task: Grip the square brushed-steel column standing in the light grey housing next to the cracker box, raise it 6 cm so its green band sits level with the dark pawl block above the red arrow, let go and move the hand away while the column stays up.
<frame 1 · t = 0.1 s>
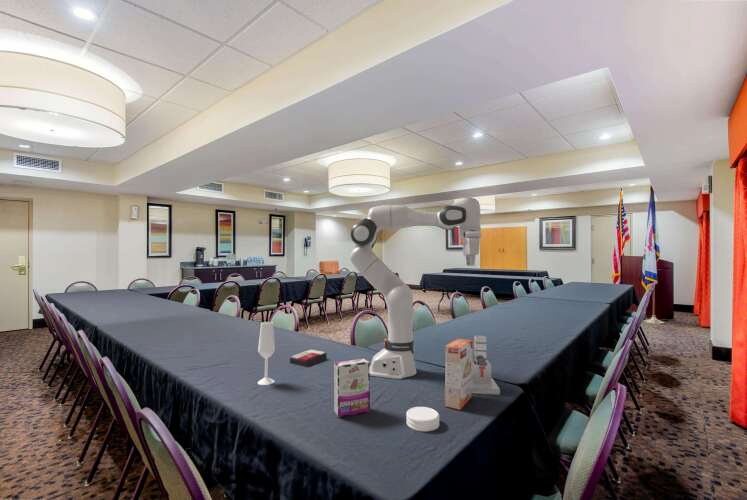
hand: (470, 265, 151), 48 cm above the table, tool pointing down, fingers open, 8 cm apart
flat red white box: (308, 362, 170), on the table
candy bar box: (351, 412, 112), on the table
cracker box: (459, 402, 121), on the table
column: (480, 362, 135), point 10 cm above the table, slide at 0.0 cm
champagne flute: (266, 382, 140), on the table
housing: (480, 388, 134), on the table
coaster: (422, 425, 105), on the table
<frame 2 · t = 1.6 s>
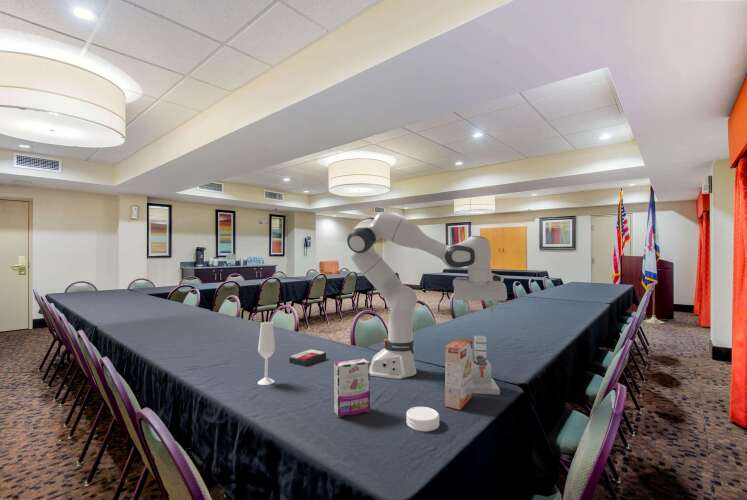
hand: (479, 311, 136), 30 cm above the table, tool pointing down, fingers open, 8 cm apart
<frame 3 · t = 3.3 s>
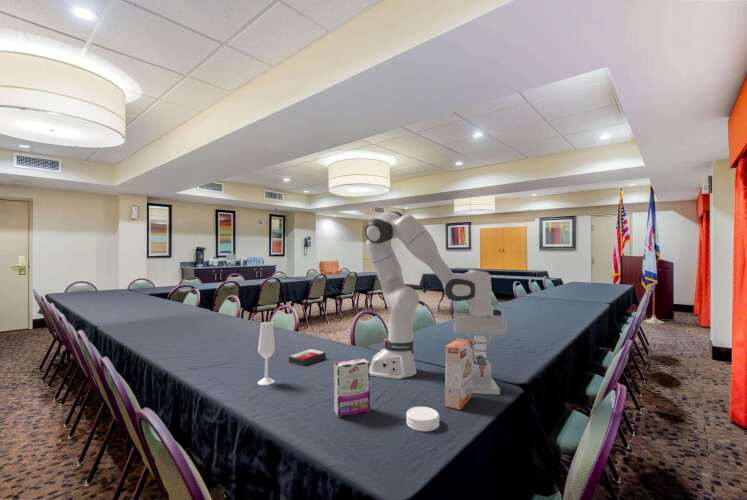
hand: (480, 345, 135), 17 cm above the table, tool pointing down, fingers closed on column, 4 cm apart
column: (480, 362, 135), point 10 cm above the table, slide at 0.0 cm, touching gripper
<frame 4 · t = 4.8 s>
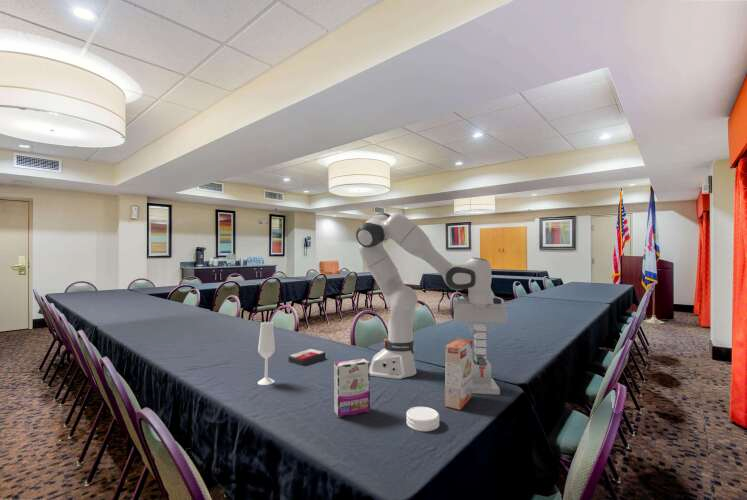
hand: (479, 334, 135), 21 cm above the table, tool pointing down, fingers closed on column, 4 cm apart
column: (480, 351, 135), point 14 cm above the table, slide at 4.3 cm, touching gripper
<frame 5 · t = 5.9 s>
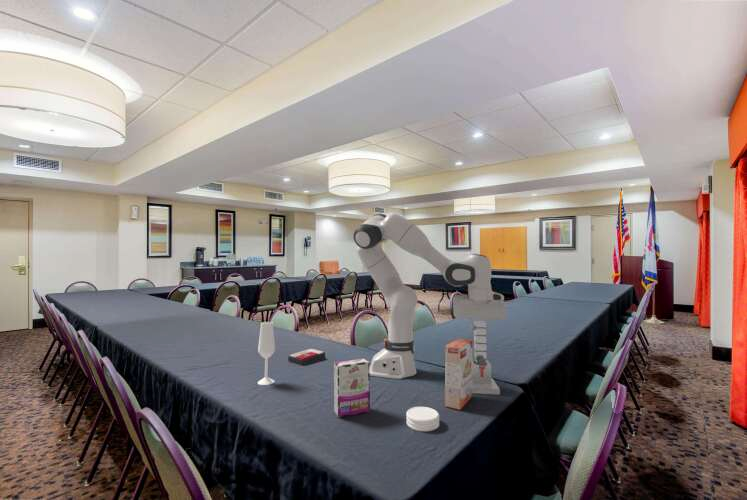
hand: (480, 330, 135), 23 cm above the table, tool pointing down, fingers closed on column, 4 cm apart
column: (480, 347, 135), point 16 cm above the table, slide at 5.8 cm, touching gripper
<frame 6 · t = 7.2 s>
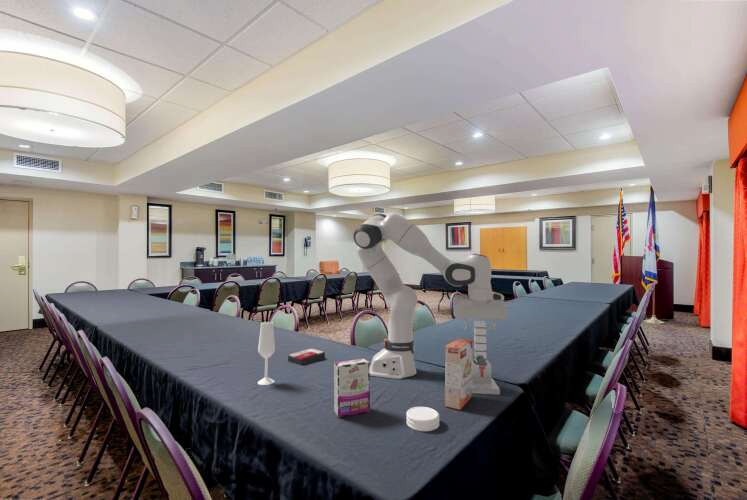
hand: (480, 330, 135), 23 cm above the table, tool pointing down, fingers open, 8 cm apart
column: (480, 347, 135), point 16 cm above the table, slide at 5.8 cm
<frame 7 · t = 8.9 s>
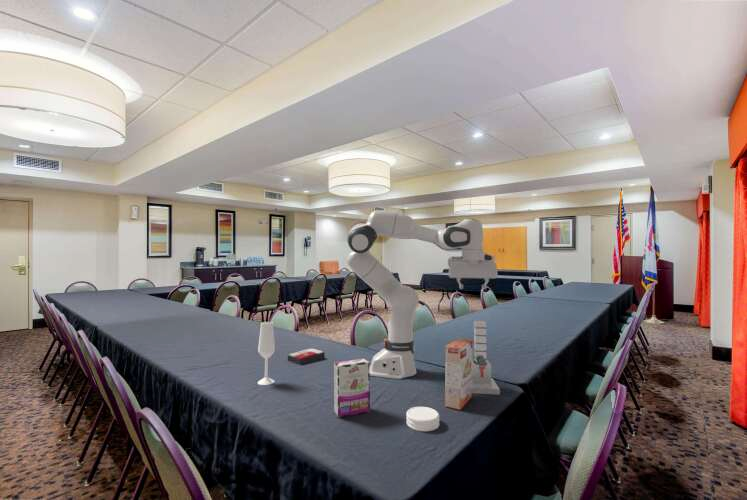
hand: (472, 288, 147), 38 cm above the table, tool pointing down, fingers open, 8 cm apart
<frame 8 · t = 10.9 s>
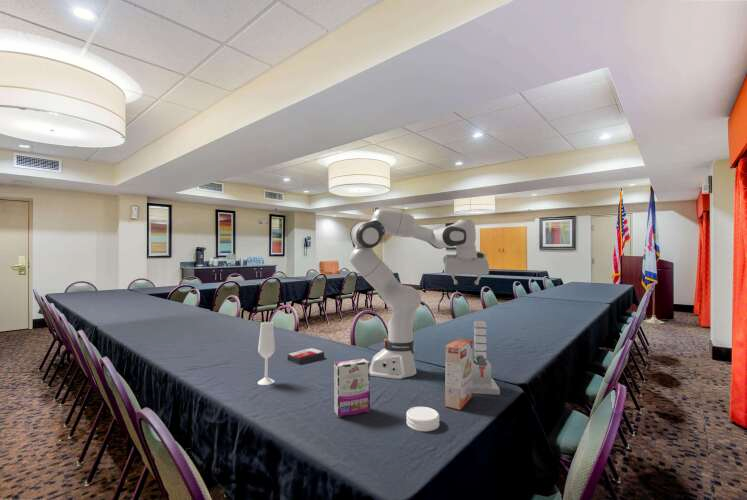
hand: (466, 284, 159), 39 cm above the table, tool pointing down, fingers open, 8 cm apart
at the end: column slide at 5.8 cm; the gripper is holding nothing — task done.
